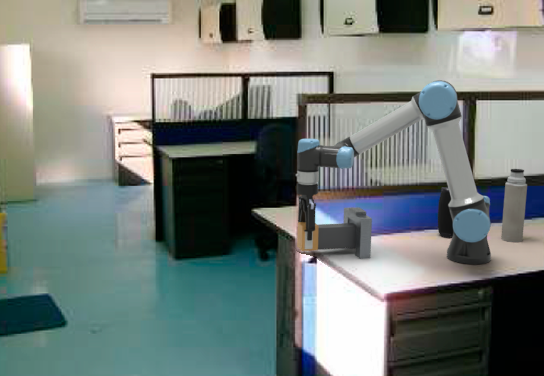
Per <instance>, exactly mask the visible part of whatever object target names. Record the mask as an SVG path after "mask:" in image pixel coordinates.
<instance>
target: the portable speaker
mask: <svg viewBox="0 0 544 376" xmlns="http://www.w3.org/2000/svg"><path fill="white" fill-rule="evenodd" d="M440 190H441V192H440V195H439V200H438V207H437V228H438V233H439V235H440V236H441V238H448V239H452V237H453V220H452V217H451V213H450V209H449V205H448V204H449V203H450V201H451V195H450V192H449V188H448V186H446V187H443V186H442V187H441V189H440Z"/></svg>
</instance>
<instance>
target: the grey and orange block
mask: <svg viewBox="0 0 544 376" xmlns="http://www.w3.org/2000/svg"><path fill="white" fill-rule="evenodd" d="M304 230H306V222H298V221H297V234H296V235H297V236H296V239H297V240H296V241H297V242H296V247H297V248H298V249H299V250H300V251H301V252H312V251H313V252H314V251H321V250H324V251H325V250H337V249H338V250H340V249H356V225H355V224H354V223H325V224H323V223H322V224H317V223H316V222H315V231H313V248H312V249H305V232H304Z"/></svg>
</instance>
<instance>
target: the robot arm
mask: <svg viewBox="0 0 544 376" xmlns="http://www.w3.org/2000/svg"><path fill="white" fill-rule="evenodd" d="M458 100H459V99H458V94H457V90H456V89H455V87H454V86H453V84H451V83H450V82H448V81H446V80H440V79H439V80H434V81H431V82H430V83H427V84H426V85H425V86H424V87H423V88H422V90H421V91H420V92H418V93H416V94H415V95H413V96H412V97H411V100H410V101H408V102H406V103H405V104H403V105H401V106H400V107H397V108H396V109H394V110H392V111H391V112H389V113H388V114H386V115H384V116H381V118H378V119H377V120H375V121H373V122H372V123H371V124H368V125H367V126H365V127H364V128H362V129H360V130H359V131H356V132H355V133H353V134H351V135H350V136H348V137H346V138H344V139H343V140H340V141H338V142H337V143H336V144H334V145H322V144H321V143H320V140H319V139H317V138H301V139H299V140H298V143H297V160H296V161H297V166H296V167H297V171H296V172H297V173H295V177H296V182H297V183H296V194H298V195H299V196H298V197H297V198H298V212H297V213H298V214H297V223H298V222H306V230H304V232H305V249H312V248H313V231H315V223H316V208H317V204H316V203H315V200H314V197H313V196H315V195H317V194H318V193H319V184H318V182H319V175H320V174H319V172H320V171H319V168H330V169H331V168H333V169H341V170H344V169H351V168H352V167H353V166H354V162H355V161H354V160H355V158H356V157H358V156H359V155H361V154H363V153H365V152H366V151H368V150H371V149H372V148H374V147H375V146H377V145H379V144H381V143H383V142H384V141H386V140H388V139H390V138H392V137H394V136H395V135H396V134H399V133H401V132H402V131H404V130H406V129H408V128H409V127H411V126H413V125H415V124H417V123H419V122H420V121H422V120H423V121H424V122H425V124H426V128H428V129H430V130H431V131H432V132H433V137H434V140H435V144H436V148H437V151H438V154H439V158H440V162H441V166H442V170H443V174H444V176H445V181H446V185H447V187H448V188H449V192H450V195H451V201H450V203H449V204H448V205H449V209H450V213H451V217H452V220H453V236H451V240H450V243H449V245H448V247H447V249H446V258H447V259H448V260H450V261H453V262H455V263H459V264H467V265H483V264H487V263H488V264H489V263H490V262H491V260H492V253H491V249H490V246H489V241H488V234H489V232H490V229H491V226H492V225H491V219H490V206H491V202H490V201H491V199H490V197H489V196H487V195H482V194H480V193H479V192H478V189H477V186H476V183H475V179H474V175H473V172H472V168H471V163H470V161H469V157H468V154H467V153H468V152H467V149H466V146H465V142H464V138H463V135H462V131H461V127H460V121H461V120H462V118H463V116H462V112H461V108H460V105H459V101H458Z"/></svg>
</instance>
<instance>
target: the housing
mask: <svg viewBox="0 0 544 376" xmlns="http://www.w3.org/2000/svg"><path fill="white" fill-rule="evenodd" d="M343 223H354V224H355V225H356V248H354V249H355V250H354V252H355V254H354V255H355V257H357V258H358V259H359V260H365V259H371V253H372V252H371V250H372V249H371V248H372V227H373V218H372V217H370V216H369V215H368V214H367V211H366V210H364V208H361V207H358V206H357V207H354V206H353V207H343Z"/></svg>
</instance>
